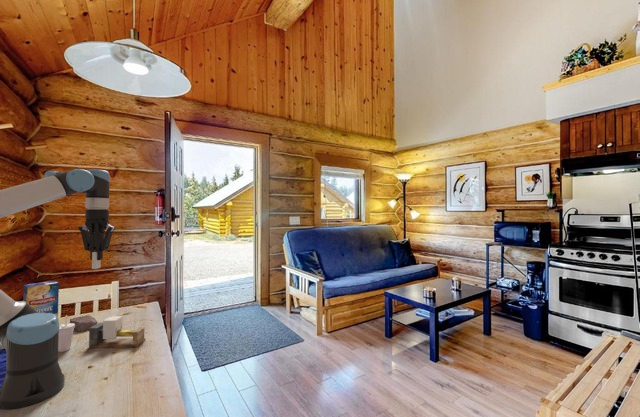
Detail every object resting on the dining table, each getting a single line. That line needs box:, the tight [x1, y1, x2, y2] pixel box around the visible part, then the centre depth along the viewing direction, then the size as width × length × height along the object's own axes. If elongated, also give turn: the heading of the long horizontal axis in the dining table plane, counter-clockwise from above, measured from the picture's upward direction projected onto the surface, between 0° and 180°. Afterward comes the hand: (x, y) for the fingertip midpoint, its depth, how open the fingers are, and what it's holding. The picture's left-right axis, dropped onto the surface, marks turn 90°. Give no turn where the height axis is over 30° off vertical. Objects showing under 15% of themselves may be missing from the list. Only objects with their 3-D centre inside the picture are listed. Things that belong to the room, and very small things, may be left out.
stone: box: [68, 314, 98, 333], centre depth 143 cm, size 9×12×5 cm
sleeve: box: [102, 315, 123, 339], centre depth 126 cm, size 5×5×8 cm
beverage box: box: [22, 280, 60, 318], centre depth 138 cm, size 7×11×22 cm, turn 146°
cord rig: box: [88, 322, 146, 349], centre depth 126 cm, size 20×7×8 cm, turn 93°
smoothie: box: [58, 314, 75, 353], centre depth 120 cm, size 6×6×14 cm
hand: (96, 268), depth 116 cm, fingers closed
